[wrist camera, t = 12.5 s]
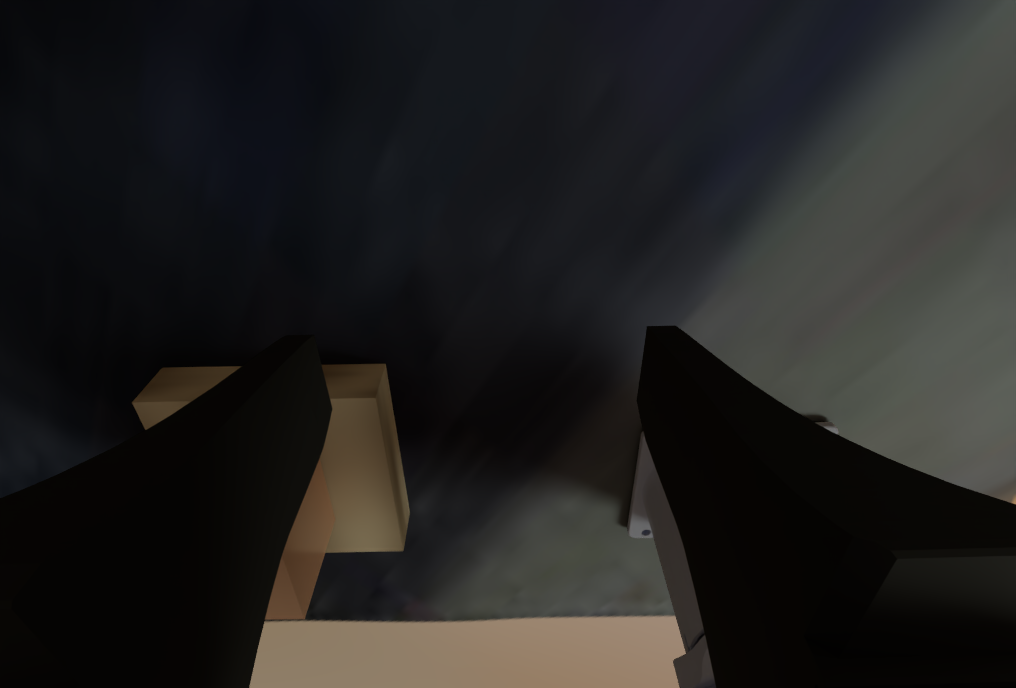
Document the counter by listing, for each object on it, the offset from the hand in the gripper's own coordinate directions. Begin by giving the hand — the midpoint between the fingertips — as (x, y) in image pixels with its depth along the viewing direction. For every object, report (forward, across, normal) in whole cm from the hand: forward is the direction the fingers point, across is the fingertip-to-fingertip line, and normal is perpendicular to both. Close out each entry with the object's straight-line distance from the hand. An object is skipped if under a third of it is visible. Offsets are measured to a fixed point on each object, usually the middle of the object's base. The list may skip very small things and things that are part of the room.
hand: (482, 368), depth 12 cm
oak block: (+11, +10, +12) cm, 19 cm away
